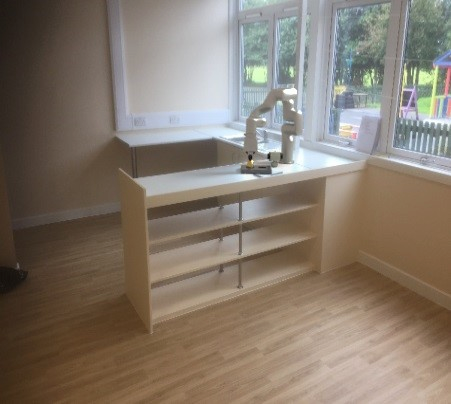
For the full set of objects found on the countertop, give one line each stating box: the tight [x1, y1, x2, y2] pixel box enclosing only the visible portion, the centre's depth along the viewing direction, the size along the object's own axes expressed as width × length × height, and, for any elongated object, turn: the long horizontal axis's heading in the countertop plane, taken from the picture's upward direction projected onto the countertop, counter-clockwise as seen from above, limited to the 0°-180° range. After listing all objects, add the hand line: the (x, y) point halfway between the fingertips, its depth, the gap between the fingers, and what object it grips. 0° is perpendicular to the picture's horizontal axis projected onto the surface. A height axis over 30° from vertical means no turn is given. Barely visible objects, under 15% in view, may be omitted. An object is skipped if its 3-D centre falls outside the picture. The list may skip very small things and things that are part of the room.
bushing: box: [246, 159, 254, 168], centre depth 310 cm, size 4×4×8 cm
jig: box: [240, 164, 273, 175], centre depth 310 cm, size 16×22×3 cm
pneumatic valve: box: [266, 150, 283, 168], centre depth 326 cm, size 6×12×12 cm, turn 92°
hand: (250, 160), depth 309 cm, fingers closed
